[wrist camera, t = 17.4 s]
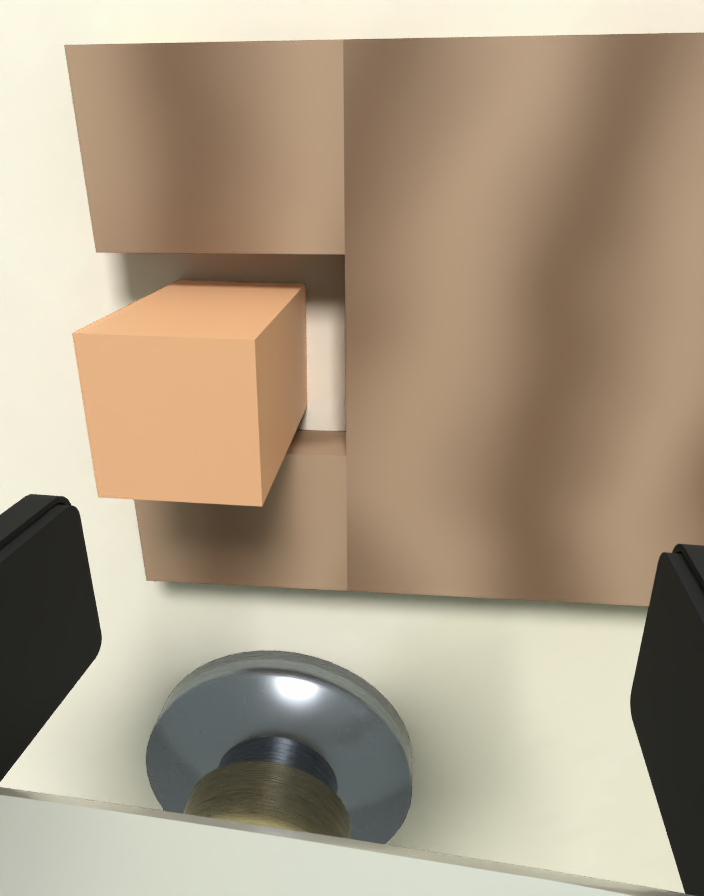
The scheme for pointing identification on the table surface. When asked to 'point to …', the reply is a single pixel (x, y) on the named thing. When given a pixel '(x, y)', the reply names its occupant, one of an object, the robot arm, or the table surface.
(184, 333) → the light orange block
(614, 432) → the notched board
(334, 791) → the bobbin
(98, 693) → the table surface
